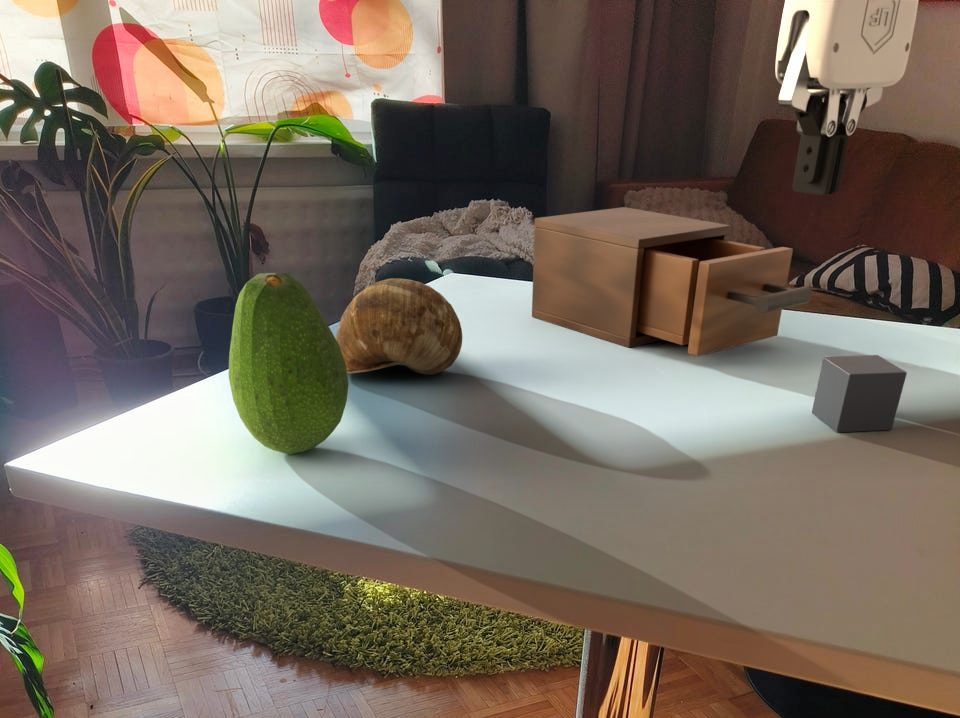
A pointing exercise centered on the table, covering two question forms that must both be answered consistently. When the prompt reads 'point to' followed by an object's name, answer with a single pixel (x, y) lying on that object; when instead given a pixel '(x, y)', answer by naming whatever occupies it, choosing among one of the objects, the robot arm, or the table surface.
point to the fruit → (285, 365)
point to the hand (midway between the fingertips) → (814, 192)
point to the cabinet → (602, 267)
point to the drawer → (714, 293)
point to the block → (858, 393)
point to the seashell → (399, 328)
